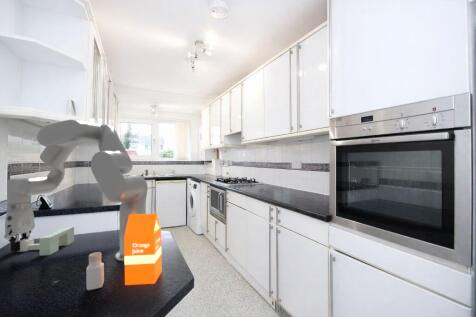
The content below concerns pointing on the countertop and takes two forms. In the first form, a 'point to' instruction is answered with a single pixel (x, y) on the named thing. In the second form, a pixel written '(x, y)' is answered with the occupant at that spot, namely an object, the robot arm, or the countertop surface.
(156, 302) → the countertop surface
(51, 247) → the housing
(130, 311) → the countertop surface
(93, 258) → the salt shaker
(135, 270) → the orange juice
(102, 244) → the countertop surface
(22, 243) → the plug
